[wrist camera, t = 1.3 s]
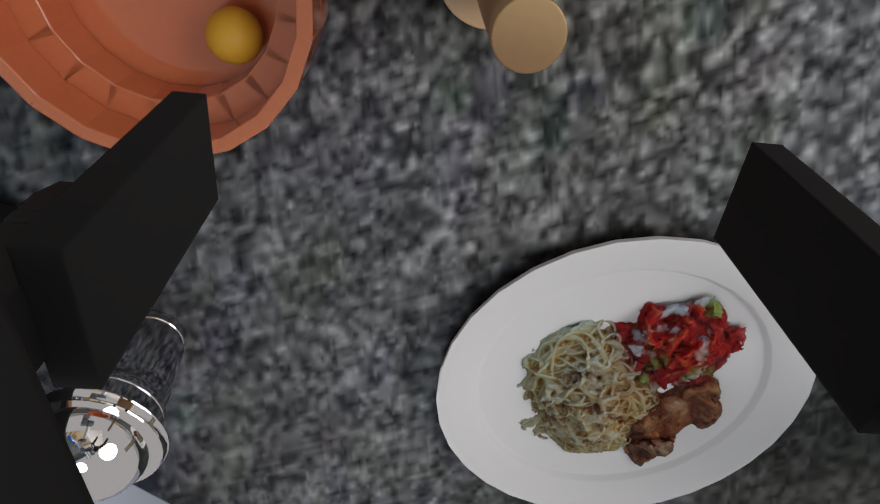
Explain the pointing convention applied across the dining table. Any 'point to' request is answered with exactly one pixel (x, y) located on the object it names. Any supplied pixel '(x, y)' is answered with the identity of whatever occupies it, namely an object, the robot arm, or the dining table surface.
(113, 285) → the robot arm
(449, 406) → the plated food
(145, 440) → the cup with straw
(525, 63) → the masher
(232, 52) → the bead
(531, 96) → the dining table surface
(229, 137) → the bowl
